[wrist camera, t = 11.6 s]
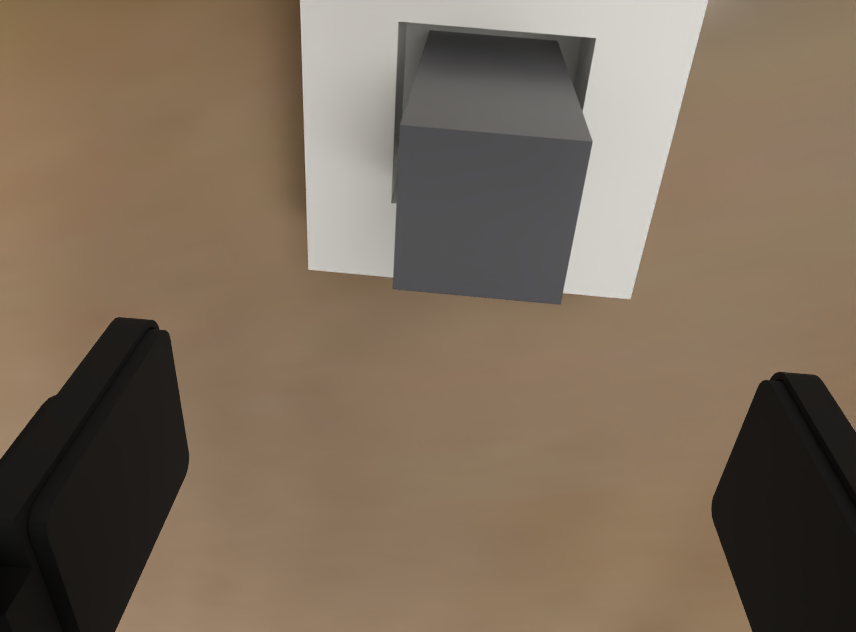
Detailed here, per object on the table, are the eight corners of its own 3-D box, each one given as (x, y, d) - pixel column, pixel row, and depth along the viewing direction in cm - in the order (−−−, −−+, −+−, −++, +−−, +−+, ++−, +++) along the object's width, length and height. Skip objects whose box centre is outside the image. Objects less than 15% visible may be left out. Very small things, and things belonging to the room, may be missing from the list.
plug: (557, 40, 25) (592, 141, 16) (538, 162, 27) (560, 304, 19) (429, 30, 25) (399, 124, 16) (422, 152, 27) (392, 289, 19)
